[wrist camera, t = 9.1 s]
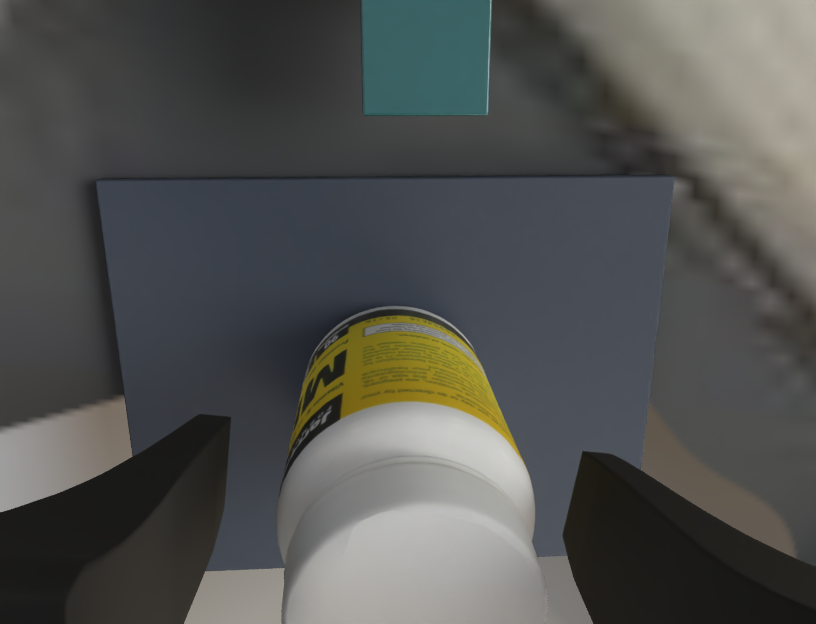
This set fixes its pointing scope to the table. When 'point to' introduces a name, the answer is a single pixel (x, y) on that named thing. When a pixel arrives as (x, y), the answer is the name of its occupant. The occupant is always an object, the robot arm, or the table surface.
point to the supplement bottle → (405, 484)
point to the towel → (378, 287)
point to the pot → (425, 57)
